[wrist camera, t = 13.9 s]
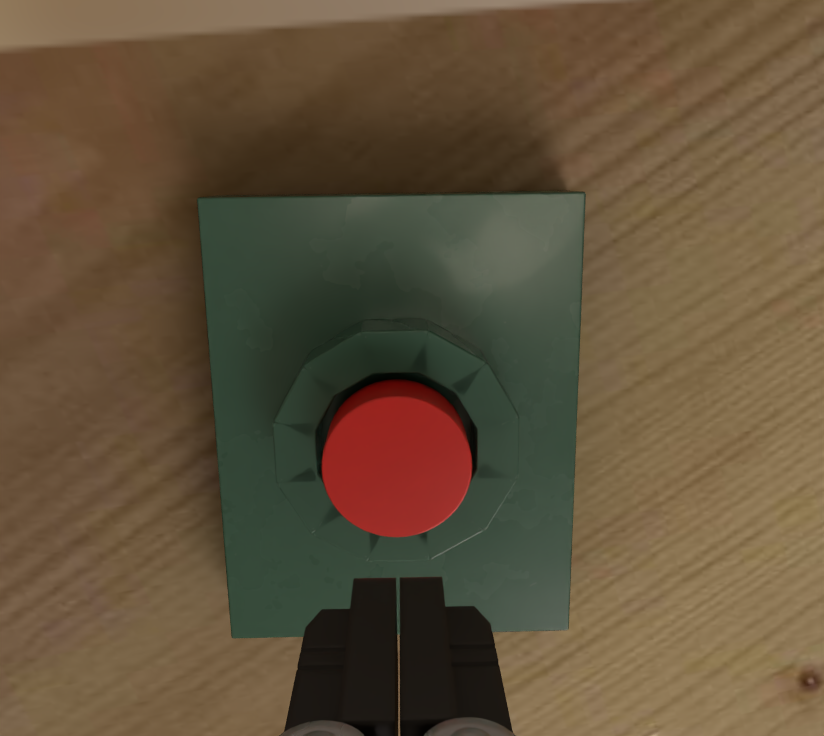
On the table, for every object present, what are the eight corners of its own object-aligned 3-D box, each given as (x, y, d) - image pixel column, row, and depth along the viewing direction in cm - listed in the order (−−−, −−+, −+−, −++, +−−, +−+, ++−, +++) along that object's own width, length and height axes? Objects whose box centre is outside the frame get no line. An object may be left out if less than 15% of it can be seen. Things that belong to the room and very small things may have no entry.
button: (324, 379, 22) (318, 397, 20) (466, 377, 22) (472, 394, 20) (329, 512, 23) (324, 539, 21) (466, 509, 23) (472, 536, 21)
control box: (214, 195, 24) (178, 199, 20) (569, 190, 24) (602, 193, 20) (244, 603, 27) (218, 673, 23) (555, 595, 27) (581, 664, 24)
